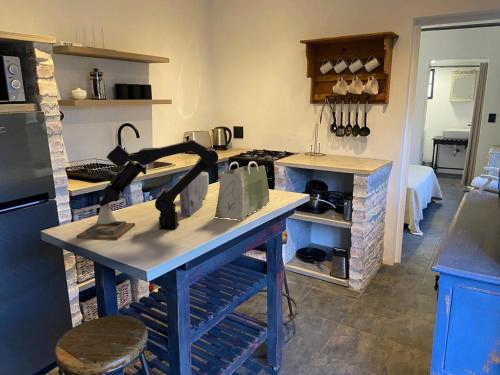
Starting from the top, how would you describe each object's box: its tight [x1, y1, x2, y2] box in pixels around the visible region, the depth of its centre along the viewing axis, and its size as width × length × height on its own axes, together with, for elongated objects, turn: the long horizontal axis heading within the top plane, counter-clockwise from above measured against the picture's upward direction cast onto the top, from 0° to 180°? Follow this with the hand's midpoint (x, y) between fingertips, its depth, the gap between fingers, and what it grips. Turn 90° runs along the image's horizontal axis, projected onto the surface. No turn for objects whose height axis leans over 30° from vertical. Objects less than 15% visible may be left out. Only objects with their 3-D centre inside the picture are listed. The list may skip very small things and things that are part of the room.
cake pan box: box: [177, 173, 204, 217], centre depth 171 cm, size 19×5×18 cm, turn 168°
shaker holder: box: [76, 220, 136, 240], centre depth 146 cm, size 16×16×2 cm
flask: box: [96, 196, 117, 224], centre depth 144 cm, size 7×7×10 cm
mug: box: [201, 171, 210, 199], centre depth 195 cm, size 15×11×13 cm
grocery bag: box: [214, 160, 270, 221], centre depth 170 cm, size 32×14×23 cm, turn 155°
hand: (101, 204), depth 144 cm, fingers closed on flask, 3 cm apart
